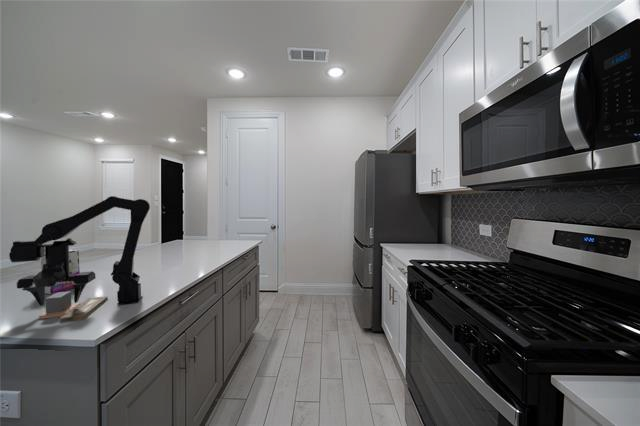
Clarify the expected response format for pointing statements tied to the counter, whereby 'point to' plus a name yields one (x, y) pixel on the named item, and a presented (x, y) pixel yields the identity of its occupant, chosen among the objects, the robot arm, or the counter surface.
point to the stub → (58, 305)
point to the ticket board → (84, 309)
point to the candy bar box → (75, 270)
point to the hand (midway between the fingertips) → (59, 304)
